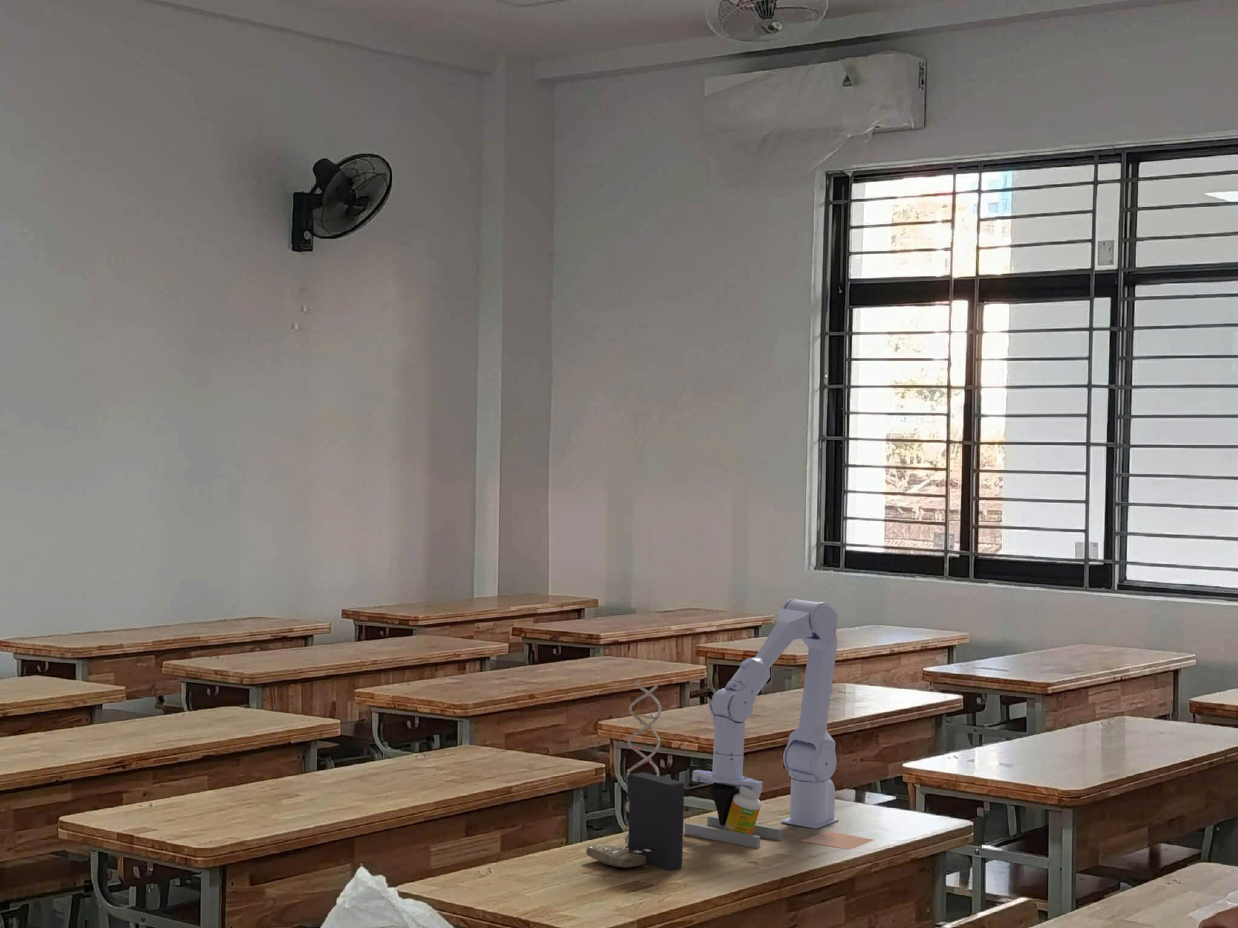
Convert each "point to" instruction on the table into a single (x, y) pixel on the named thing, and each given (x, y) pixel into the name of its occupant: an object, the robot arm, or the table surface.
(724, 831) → the channel
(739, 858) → the table surface
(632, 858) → the cuneiform tablet
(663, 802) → the black upright block
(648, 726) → the dna model
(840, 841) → the tile
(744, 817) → the supplement bottle
